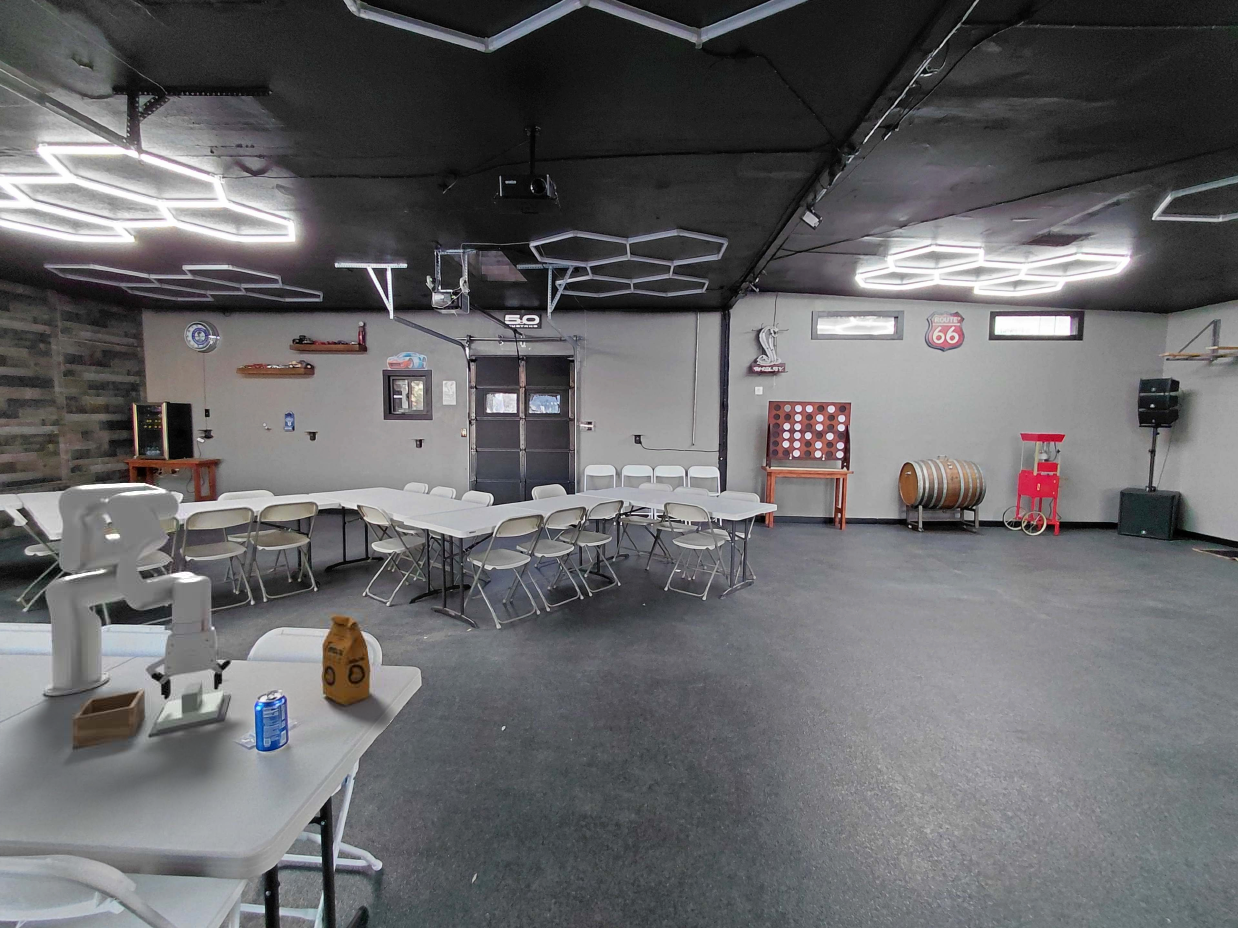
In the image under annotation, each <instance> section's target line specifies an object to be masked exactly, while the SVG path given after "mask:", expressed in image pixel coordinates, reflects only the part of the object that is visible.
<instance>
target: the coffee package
mask: <svg viewBox="0 0 1238 928" xmlns="http://www.w3.org/2000/svg"><path fill="white" fill-rule="evenodd" d="M330 621H331V622H333V623H332V624H331V627H330V629H329V631H328V632H327V635H326V636H325V639H324V642H323V643H322V663H321V664H322V673H321V681H322V695H325V696H326V697H327V698H330V699H332V700H333V701H334V702H336V703H338V704H342V705H343V706H349V705H351V704H355V703H358V702H359V701H362V700H365V699H367V698H369V697H370V695H371V694H370V690H371V689H370V687H371V686H370V685H371V684H370V683H371V682H370V678H371V664H370V658H369V657H370V656H369V650H368V645H367V643H366V639H365V637H364V635H363V633H362V631H361V629H360V627H359V625H358V622H357V621H355V620H354V619H353V618H351V617H348V616H344V615H339V614H334V615H333V616H331V619H330Z"/></svg>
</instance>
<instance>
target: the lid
mask: <svg viewBox="0 0 1238 928" xmlns="http://www.w3.org/2000/svg"><path fill="white" fill-rule="evenodd" d="M224 695H225V691H224V690H222V691H221V690H220V691H218V692H217V691H216V692H209V693H207V694H206V693H205V694H203V681H197V682H192V683H187V684H186V686H185V687H184V690H183V692H182V694H181V698H180V699H175V700H169V701H167V703H166V705H165V706H164V707H165V708H164V710H163V712H162V714H161V715H160V717H159V719H158V721H157V730H159V729H163V728H168V727H173V726H177V725H182V724H187V723H192V722H196V721H201V720H206V719H210V718H215V717H218V714H219V711H220V708H221V705H222V702H223V699H224Z"/></svg>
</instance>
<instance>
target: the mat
mask: <svg viewBox="0 0 1238 928" xmlns="http://www.w3.org/2000/svg"><path fill="white" fill-rule="evenodd" d="M230 701H231V694H230V693H229V694H224V699H223V702H222V705H221V708H220V711H219V714H218V717H215V718H210V719H206V720H201V721H196V722H192V723H187V724H182V725H177V726H173V727H168V728H163V729H159V730H157V721H158V719H159V717H160V715H161V714H162V712H163V710H164V708H165V706H164V707H162V708H161V710H160V712H159V714H158V715H157V718H156V719H155V721H154V724H153V725H152V727H151V729H150V731H149V733H148V737H153V736H159V735H163V734H166V733H167V734H168V733H171V732H177V731H181V730H185V729H189V728H194V727H199V726H204V725H208V724H212V723H217V722H222V721H224V720H225V718H226V714H227V712H228V711H227V710H228V707H229V703H230Z"/></svg>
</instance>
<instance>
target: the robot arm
mask: <svg viewBox="0 0 1238 928" xmlns="http://www.w3.org/2000/svg"><path fill="white" fill-rule="evenodd" d="M179 510H180V509H179V502H178V499H177V498H176V496H175V495H174V494H173V493H172V492H170V491H169V490H166V489H164V488H161V487H158V486H154V485H151V484H148V483H143V482H142V483H141V482H137V483H136V482H128V483H127V482H125V483H105V484H103V483H101V484H85V485H79V486H78V485H77V486H72V487H69V488H67V489H65V490H63V492H61V494H60V496H59V499H58V511H59V515H60V516H61V517H60V518H61V521H62V530H61V537H60V544H59V545H60V546H59V553H58V564H59V568H60V569H61V570H62V571H64V572H65V573H75V574H72V575H67V576H63V577H61V578H58V579H55V580H54V581H52V582H51V583H50V584H48V586H47V587H46V590H45V600H46V603H47V606H48V607H47V608H48V611H49V615H50V624H51V629H50V631H51V666H52V667H51V668H52V669H51V673H52V674H51V675H52V676H51V677H52V679H51V680H52V682H51V683H49V684H48V685H46V686H45V687H44V688H43V694H45V695H46V696H53V697H55V696H56V697H57V696H58V697H59V696H66V695H73V694H77V693H81V692H85V691H88V690H91V689H94V688H96V687H100V686H102V685H103V684H105V683H106V682H108V681H109V680H110V678H111V676H110V675H111V674H110V673H109V672H106V671H103V653H102V651H103V650H102V649H103V647H102V645H103V643H102V642H103V641H102V639H103V637H102V634H103V633H102V619H101V618H100V616H99V615H98V614H97V613H96V612H94V611H92V610H91V609H90V608H91V607H93V606H96V605H97V606H98V605H100V604H101V605H102V604H105V603H109V602H114V601H118V600H121V599H124V600H125V602H126V603H127V604H128V606H129V607H131V608H132V609H135V610H137V611H146V610H149V609H154V608H159V607H162V606H166V605H170V604H171V610H172V611H171V612H172V613H171V615H172V616H171V619H172V621H171V622H170V623H168V624H164V631H170V633H169V634H168V635H167V639H166V644H165V649H164V650H165V651H164V657H162V658H161V659H159V660H157V661H155V662H153V663H151V664H150V665H148V666H147V667H146V669H145V672H146V673H147V674H148V675H149V676H150V678H151V679H153V680H154V681H156V682H157V683H158V684H159V685H160V695H161V696H163V697H164V698H163V699H164V700H168V699H169V697H171V694H172V689H171V686H172V685H171V683H172V681H171V680H172V679H170V678H171V677H175V676H176V677H177V676H182V675H188V674H189V675H190V674H193V673H199V672H204V671H209V670H212V671H213V672H214V675H213V690H218V689H219V687H220V685H222V684H223V672H224V671H225V670H226V668H228V667H229V666H230V664H231V662H232V661H233V659H234V657H235V656H236V652H235V651H231V650H229V649H228V650H227V649H223V648H220V647H218V645H219V644H218V637H217V631H216V629H215V627H214V626H212V581H211V579H210V578H209V577H208V576H206V575H198V574H195V573H193V572H192V571H191V572H190V571H179V572H175V573H169V574H163V575H158V576H153V577H147V578H143V577H142V576H141V574H140V572H139V570H138V567H137V566H138V564H137V563H138V561H139V560H140V559H141V558H144V557H146V556H148V555H149V554H153V552H156V551H157V550H159V549H161V548H162V547H163V546H165V544H166V543H167V542H168V540H169V536H168V535H169V534H168V533H167V531H166V530H165V528H164V526H163V524H162V522H161V521H163V520H164V521H165V520H169V519H172V518H174V517H175V516H176V515H177V514H178V511H179ZM105 516H108V517H109V520H110V521H111V524H112V526H113V527H114V530H115V531H116V533H112V534H107V530H108V522H107V519H106V518H105ZM76 573H77V574H76ZM78 573H79V574H78ZM219 656H220V657H225V658H226V659H225V661H223V662H222V663H220V662H219V660H218V659H219ZM161 666H163V667H164V668H163V672H164V673H161V672H160V671H158V668H159V667H161Z"/></svg>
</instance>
